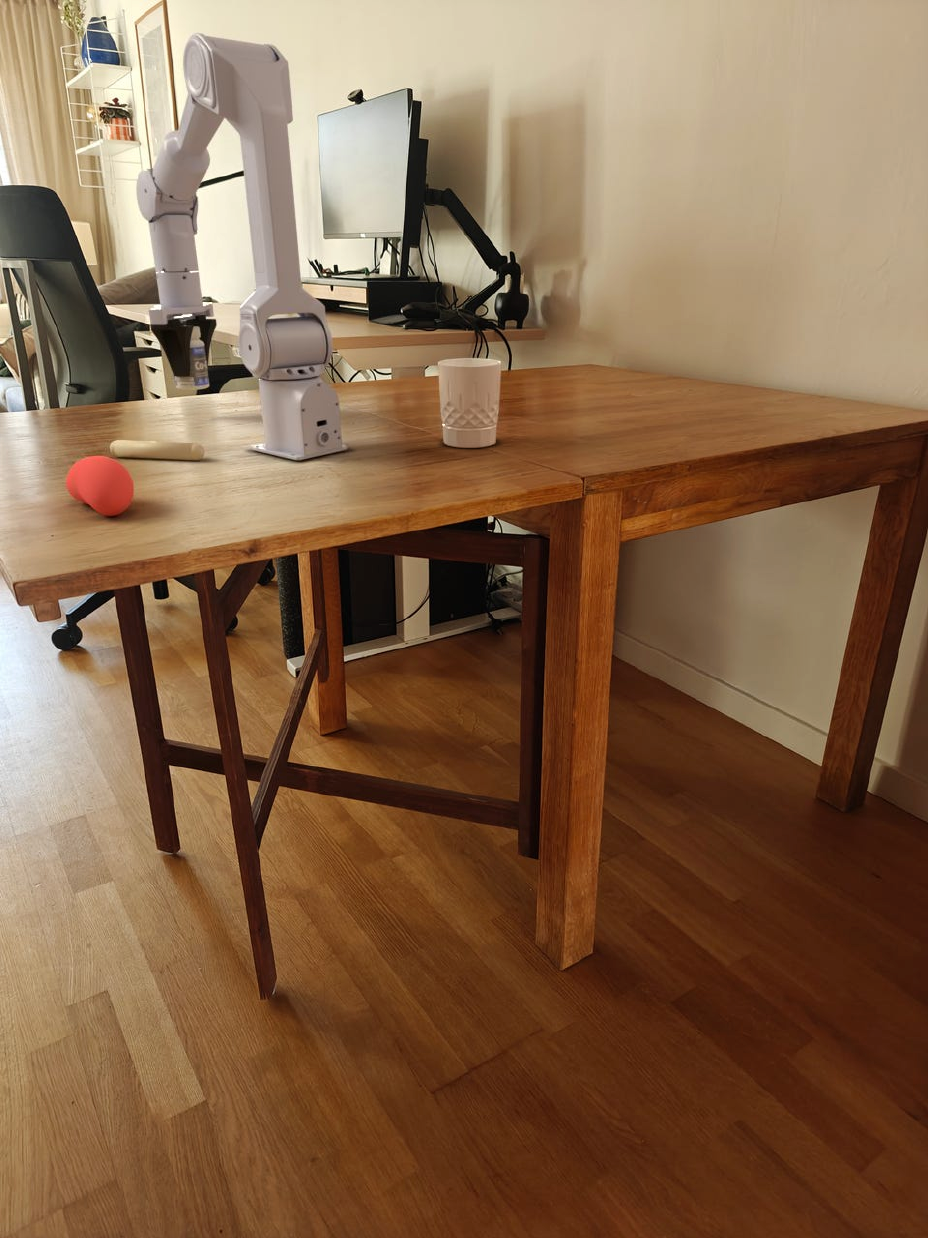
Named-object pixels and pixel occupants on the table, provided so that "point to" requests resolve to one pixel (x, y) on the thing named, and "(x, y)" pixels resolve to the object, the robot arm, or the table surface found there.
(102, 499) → the stress ball
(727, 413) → the table surface
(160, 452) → the dowel
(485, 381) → the white cup
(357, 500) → the table surface
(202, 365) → the pill bottle
